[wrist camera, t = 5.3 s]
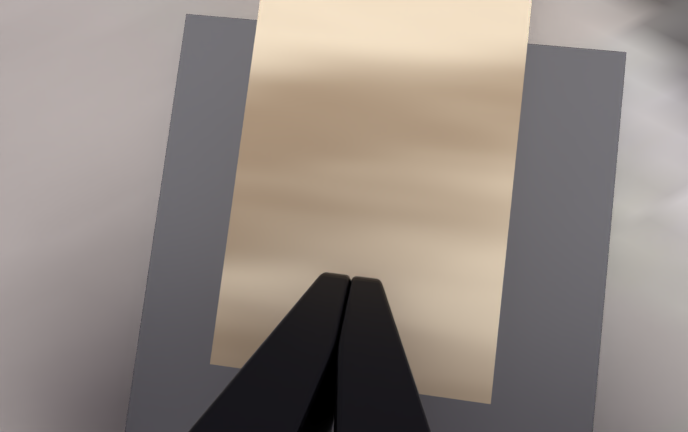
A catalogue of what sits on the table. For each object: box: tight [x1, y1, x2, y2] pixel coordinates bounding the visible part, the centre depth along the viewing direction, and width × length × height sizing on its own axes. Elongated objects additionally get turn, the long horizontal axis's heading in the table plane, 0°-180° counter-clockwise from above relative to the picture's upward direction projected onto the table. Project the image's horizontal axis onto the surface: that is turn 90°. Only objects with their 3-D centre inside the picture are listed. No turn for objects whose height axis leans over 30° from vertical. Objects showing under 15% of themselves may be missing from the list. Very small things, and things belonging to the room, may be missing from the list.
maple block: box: [210, 0, 532, 404], centre depth 13 cm, size 5×5×12 cm
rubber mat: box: [125, 14, 626, 432], centre depth 16 cm, size 16×12×1 cm
